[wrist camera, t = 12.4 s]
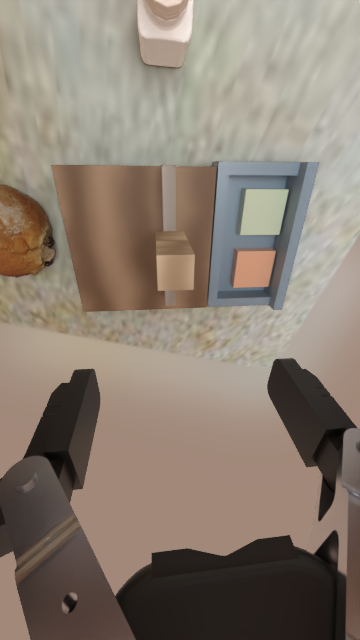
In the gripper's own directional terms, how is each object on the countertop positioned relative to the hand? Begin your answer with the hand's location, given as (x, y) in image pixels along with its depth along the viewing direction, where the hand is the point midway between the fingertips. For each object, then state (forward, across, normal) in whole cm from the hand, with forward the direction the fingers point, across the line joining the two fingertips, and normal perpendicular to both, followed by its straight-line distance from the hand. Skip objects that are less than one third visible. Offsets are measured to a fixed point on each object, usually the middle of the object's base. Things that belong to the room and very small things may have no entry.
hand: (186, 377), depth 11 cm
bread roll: (+25, +18, -1) cm, 31 cm away
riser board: (+25, +2, 0) cm, 25 cm away
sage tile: (+22, -12, -4) cm, 26 cm away
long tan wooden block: (+21, 0, -1) cm, 21 cm away
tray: (+24, -11, 0) cm, 27 cm away
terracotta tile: (+22, -12, +3) cm, 26 cm away
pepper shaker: (+25, 0, -18) cm, 31 cm away
